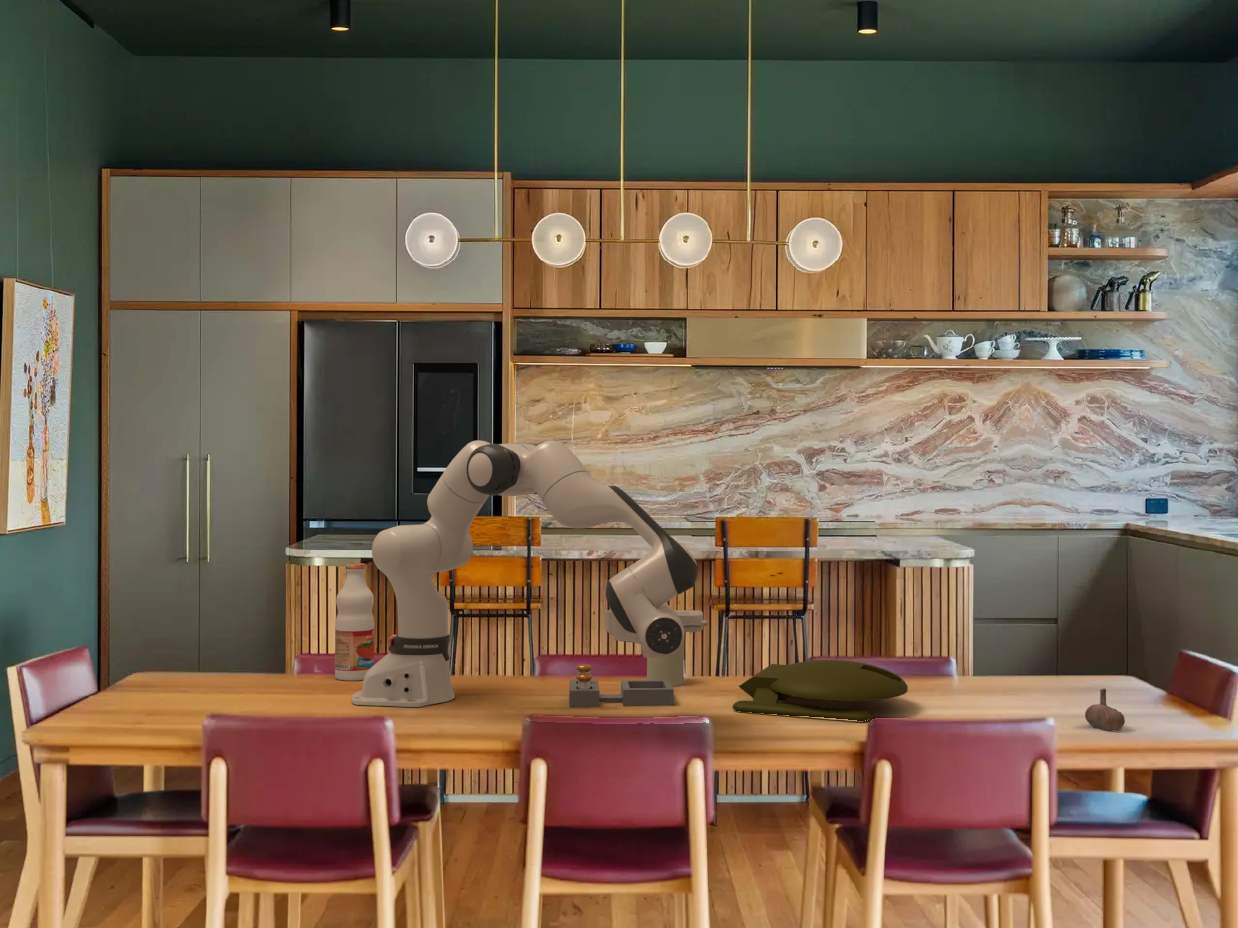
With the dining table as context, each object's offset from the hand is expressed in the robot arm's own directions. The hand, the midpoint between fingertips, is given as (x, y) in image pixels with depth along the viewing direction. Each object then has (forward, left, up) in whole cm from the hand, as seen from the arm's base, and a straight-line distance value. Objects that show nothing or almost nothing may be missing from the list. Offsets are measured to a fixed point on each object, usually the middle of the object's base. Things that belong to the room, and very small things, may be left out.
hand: (651, 615), depth 232 cm
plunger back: (-14, +16, -19) cm, 28 cm away
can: (+6, +33, -21) cm, 40 cm away
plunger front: (-14, +10, -20) cm, 26 cm away
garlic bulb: (+90, -16, -21) cm, 94 cm away
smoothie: (0, -1, -9) cm, 9 cm away
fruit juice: (-70, +42, -21) cm, 84 cm away
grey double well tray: (-6, +13, -20) cm, 25 cm away
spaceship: (+39, +8, -21) cm, 45 cm away
